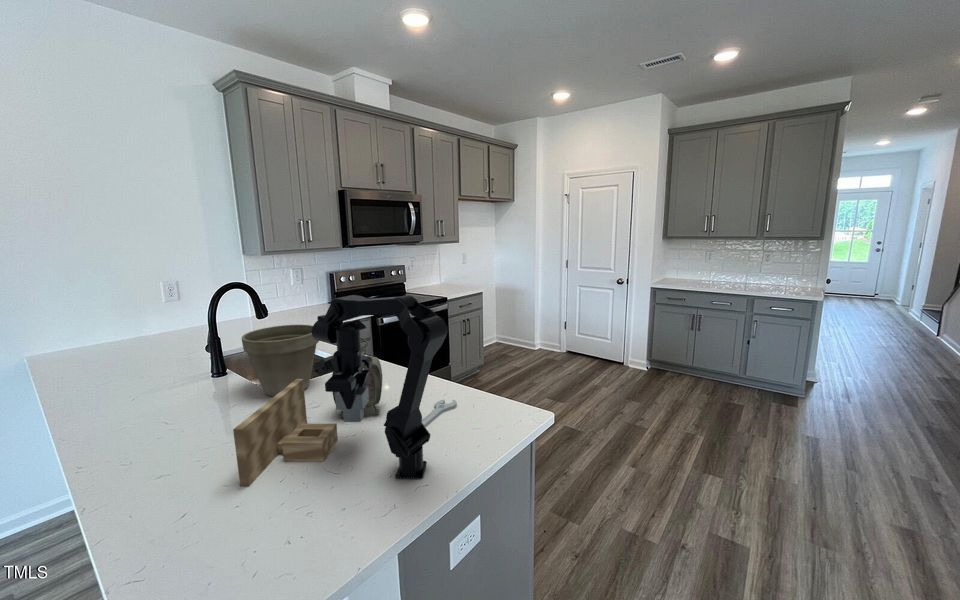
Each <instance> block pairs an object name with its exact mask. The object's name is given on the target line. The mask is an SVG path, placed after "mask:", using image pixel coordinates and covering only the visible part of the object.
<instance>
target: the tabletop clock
mask: <svg viewBox="0 0 960 600" xmlns="http://www.w3.org/2000/svg"><path fill="white" fill-rule="evenodd" d="M360 340H362V341H364V342H365V343H366V344H365V345H364V346H362V347H363V349H366V347H368V343H369V342H368V340H367V339H366V338H365V337H362V336H360ZM361 356H366V354H365V353H364V351H363V352H362V353H361ZM369 356H370V357H371V358H372V362H373V366H372V367H371V368H370V369H368V368H367V365H365V366H364V367H363V368H364V370H369V373H368V375H367V378H366V380H365V383H364V386H363V387H368V395H369V401H368V403H367V404H366V406H365V407H364V409H365V408H371V407H373V409H374V414H375V415H377V416H378V415H379V414H380V413H381V411H380V409H377V407H376V405H379V403H380V401H381V398H382V390H383V371H382V370H383V369H382V365H381V361H380V359H379V358H378V357H376V356H371V355H369ZM331 375H332V376H333V375H341V372H339V373H334V370H333V371H332V374H331ZM332 376H331V377H332ZM336 393H337V392H332V397H333V402H334V404H335V405H336V402H335V394H336ZM338 417H339V418H341V419H342V418H343V410H342V411H341V412H339V413H338Z"/></svg>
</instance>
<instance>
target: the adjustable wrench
mask: <svg viewBox="0 0 960 600" xmlns="http://www.w3.org/2000/svg"><path fill="white" fill-rule="evenodd" d="M445 401H446V399H440V400H438V401H437V402H436V403H434V405H433V408H434V410H432V411H431V412H430V413H428V414H427V415H426V416H424V417H422V424H423V425H424V426H425V428H426V427H428V426H429V425H430V424H431V423H432V422H433V421H435V420H436V419H437V418H438V417H440V415H441V414H444V413H446V412H448V411H451V410H454V409H456V408H457V400H455V399H453V400H452V402H449V403H446V402H445Z"/></svg>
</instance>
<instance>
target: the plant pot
mask: <svg viewBox="0 0 960 600" xmlns="http://www.w3.org/2000/svg"><path fill="white" fill-rule="evenodd" d="M312 328H313V325H311V324H284V325H277V326H276V325H275V326H269V327H263V328H260V329H255V330H252V331H249V332H247V333H244V334H243V335H242V336H241V343H242V347H243V348H242V349H243V351H244V352H245V354H247V355H248V358H249V360H250V363H251V365H252V367H253V370H254V372H255V374H256V376H257V379H258V381H259V384H260V387H261V388H262V390H263V392H264V394H265V395H267V396H269V397H274V396H276V395H277V394H278V393H279V392H281V391H282V390H283V389H284V388H286V387H287V386H288V385H289V384H291V383H292V382H293V381H294V380H296V379H303V383H304V391H305V390H306V389H308V387H309V386H310V381H311V377H312V372H313V366H314V361H315V356H316V349H317V344H319V342H320V341H318V340H316V339H314V338H313V336H312Z"/></svg>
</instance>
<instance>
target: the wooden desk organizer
mask: <svg viewBox="0 0 960 600" xmlns="http://www.w3.org/2000/svg"><path fill="white" fill-rule="evenodd" d="M305 396H306V395H305V390H304V383H303V379H296V380H294V381H293V382H292V383H291V384H289V385H288V386H287V387H286V388H284V389H283V390H282V391H281V392H279V393H278V394H277V395H276V396H272V398H271V399H270V400H268V401H267V402H266V403H264V404H263V405H262V406H260V408H258V409H256V410H255V411H254V412H253V413H252V414H250V415H249V416H248V417H247V418H245V419H244V420H243V421H241V423H239V424H238V425H237V426H235V427H234V428H233V429H232V431H233V438H234V446H235V447H234V448H235V455H236V456H235V457H236V462H237V463H236V464H237V471H238V472H237V473H238V479H239V480H238V481H239V486H240V487H250V486H251V485H252V484H253V482H254V481H256V479H257V478H258V477H259V476H260V475H261V474H262V473H263V472H264V471H265V470H266V469H267V468H268V466H269V465H270V464H271V463H272V462H273V461H274V460H275V458H276V457H278V456H279V455H282V457H283V461H284V462H324V461H325V459H326V458H327V457H328V455H329V454H330V452H331V451H332V450H333V448H334V446H335V445H336V444H337V442H338V440H339V438H338V425H337V424H338V423H308V418H307V417H308V415H307V407H306V406H307V405H306V397H305Z"/></svg>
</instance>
